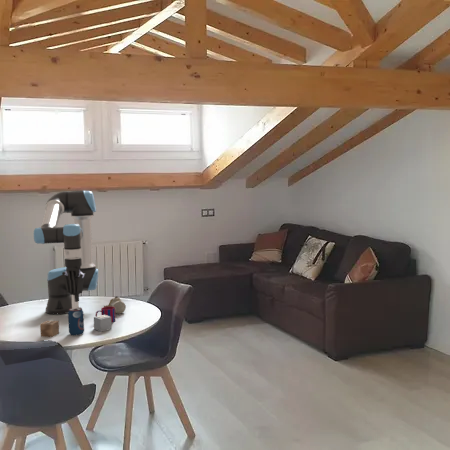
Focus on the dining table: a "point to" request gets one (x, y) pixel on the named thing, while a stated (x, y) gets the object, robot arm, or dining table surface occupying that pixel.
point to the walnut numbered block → (49, 328)
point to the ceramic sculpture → (117, 305)
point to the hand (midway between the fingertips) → (75, 308)
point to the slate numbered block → (102, 323)
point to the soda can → (76, 321)
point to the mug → (108, 312)
